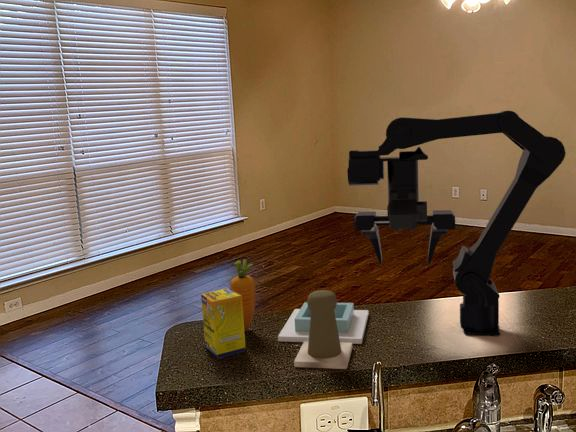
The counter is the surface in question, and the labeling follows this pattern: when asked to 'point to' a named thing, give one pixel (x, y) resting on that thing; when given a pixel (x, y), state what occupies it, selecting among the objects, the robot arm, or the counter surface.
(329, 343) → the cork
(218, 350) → the supplement box
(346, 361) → the pad
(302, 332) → the housing
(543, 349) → the counter surface
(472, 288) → the robot arm
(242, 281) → the carrot
